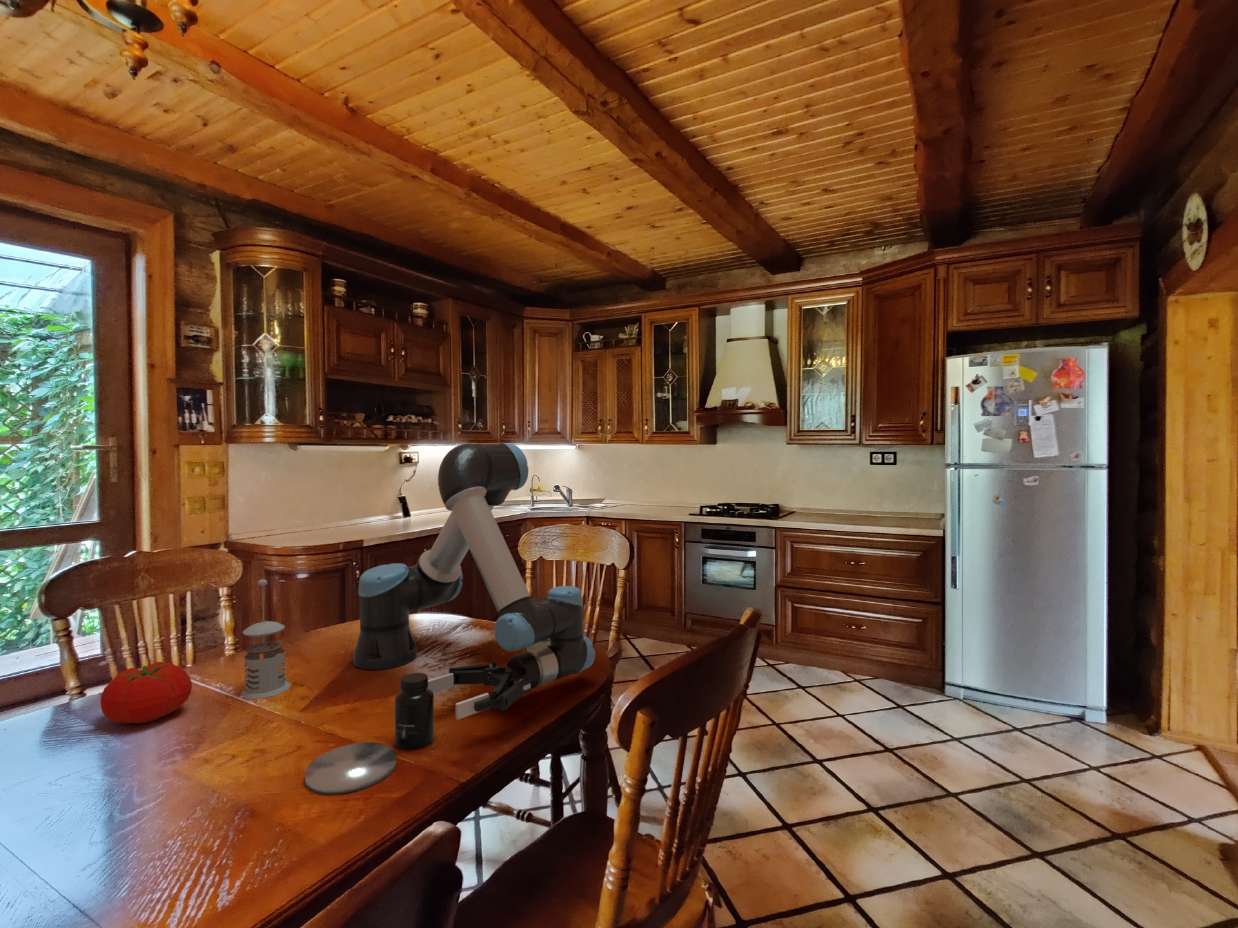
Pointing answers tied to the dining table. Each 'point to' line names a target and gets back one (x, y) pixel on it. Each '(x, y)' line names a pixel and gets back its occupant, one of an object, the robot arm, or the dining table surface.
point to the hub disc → (350, 768)
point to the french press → (264, 660)
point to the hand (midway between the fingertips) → (438, 700)
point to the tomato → (145, 693)
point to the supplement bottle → (414, 712)
